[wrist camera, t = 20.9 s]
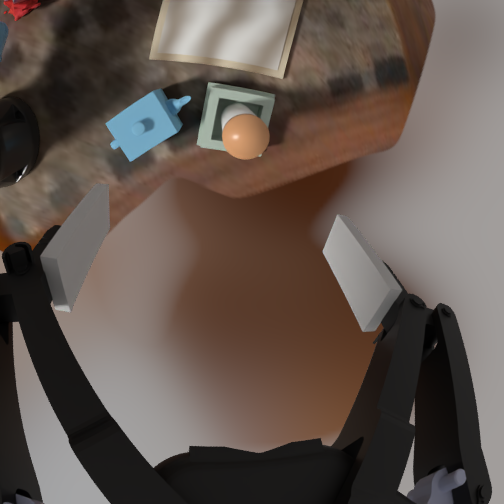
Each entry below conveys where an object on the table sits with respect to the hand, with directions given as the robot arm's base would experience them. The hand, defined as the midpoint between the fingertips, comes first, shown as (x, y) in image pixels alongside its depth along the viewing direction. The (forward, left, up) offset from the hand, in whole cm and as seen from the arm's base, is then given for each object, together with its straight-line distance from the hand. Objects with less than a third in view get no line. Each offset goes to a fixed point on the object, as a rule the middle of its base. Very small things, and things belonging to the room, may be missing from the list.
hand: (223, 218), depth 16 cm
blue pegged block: (-9, +1, -27) cm, 28 cm away
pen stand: (+2, +2, -26) cm, 27 cm away
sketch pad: (-2, +16, -26) cm, 31 cm away
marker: (+2, +2, -26) cm, 26 cm away
